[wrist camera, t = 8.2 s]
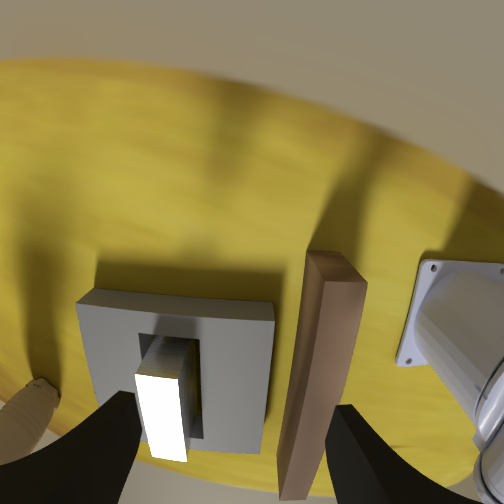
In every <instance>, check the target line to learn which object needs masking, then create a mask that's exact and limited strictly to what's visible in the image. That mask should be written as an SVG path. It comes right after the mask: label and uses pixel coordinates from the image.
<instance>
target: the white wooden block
mask: <svg viewBox="0 0 504 504" xmlns="http://www.w3.org/2000/svg"><path fill="white" fill-rule="evenodd" d="M135 377H136V383H137V388H138V394H139V399H140V404H141V409H142V414H143V418H144V423H145V427H146V432H147V436H148V440H149V444H150V448H151V452H152V456H153V457H159V458H165V459H171V460H178V461H185V462H187V457H188V452H189V447H190V443H191V438H192V433H193V428H194V424H195V419H196V414H197V409H198V399H197V379H196V354H195V339H191V338H181V337H171V336H161V335H156V336H155V337H154V339H153V341H152V343H151V345H150V347H149V349H148V351H147V352H146V354H145V356H144V358H143V360H142V362H141V364H140V366H139V368H138V369H137V371H136V373H135Z"/></svg>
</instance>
